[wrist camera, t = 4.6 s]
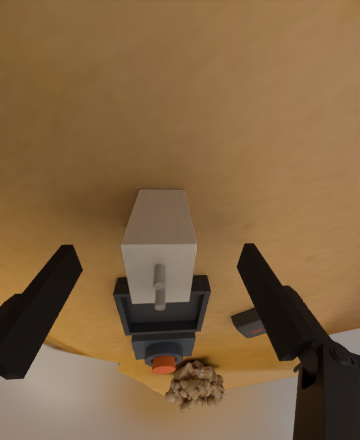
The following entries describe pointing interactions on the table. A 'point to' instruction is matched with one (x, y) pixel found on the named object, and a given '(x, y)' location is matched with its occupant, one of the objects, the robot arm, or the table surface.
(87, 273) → the table surface
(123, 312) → the cradle
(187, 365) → the mineral formation
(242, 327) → the usb drive
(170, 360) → the button
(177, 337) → the switch block
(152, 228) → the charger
